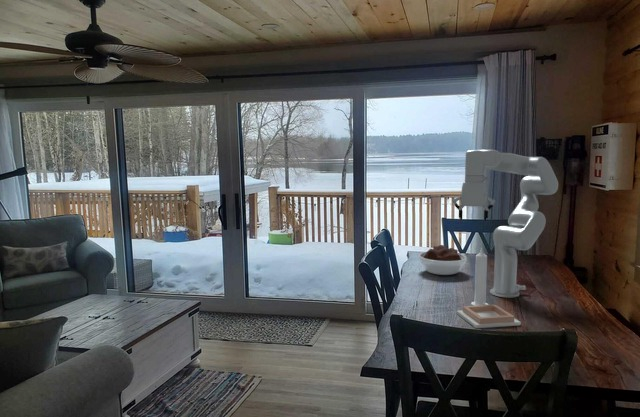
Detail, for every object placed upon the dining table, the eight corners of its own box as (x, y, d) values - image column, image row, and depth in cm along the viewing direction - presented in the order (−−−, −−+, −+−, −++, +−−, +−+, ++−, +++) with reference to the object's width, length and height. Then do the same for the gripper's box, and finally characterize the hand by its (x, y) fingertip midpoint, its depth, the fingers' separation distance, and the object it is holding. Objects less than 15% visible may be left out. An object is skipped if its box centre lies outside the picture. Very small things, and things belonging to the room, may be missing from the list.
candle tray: (497, 310, 186) (498, 303, 185) (520, 325, 170) (520, 317, 170) (456, 313, 183) (456, 305, 183) (475, 328, 168) (476, 319, 167)
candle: (484, 302, 196) (486, 246, 193) (491, 308, 189) (493, 249, 186) (468, 302, 196) (470, 246, 193) (474, 308, 189) (476, 249, 186)
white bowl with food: (476, 276, 239) (477, 248, 237) (436, 281, 229) (437, 252, 228) (446, 265, 262) (447, 240, 260) (409, 270, 253) (410, 243, 251)
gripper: (494, 179, 192) (493, 218, 194) (452, 179, 196) (451, 217, 198) (497, 180, 185) (495, 221, 187) (453, 180, 189) (452, 220, 191)
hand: (473, 219), depth 193 cm, fingers open, 9 cm apart
